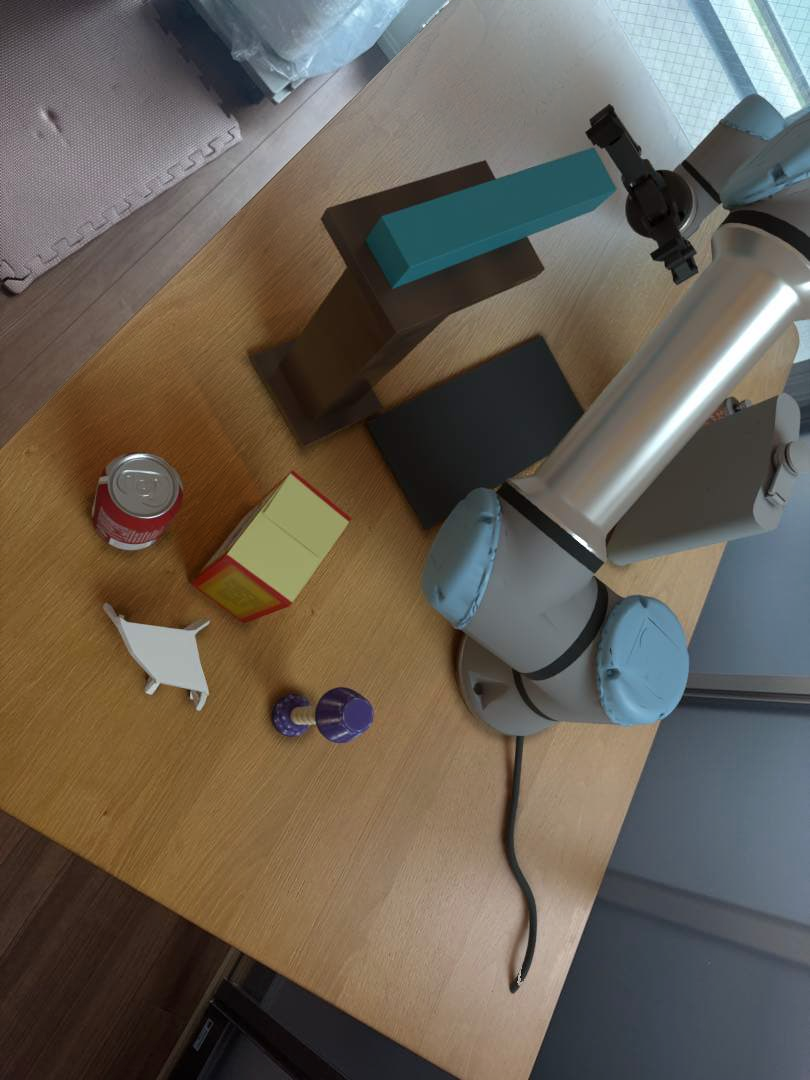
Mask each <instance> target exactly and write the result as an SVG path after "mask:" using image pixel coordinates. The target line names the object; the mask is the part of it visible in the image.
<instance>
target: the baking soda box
mask: <svg viewBox="0 0 810 1080" xmlns="http://www.w3.org/2000/svg"><path fill="white" fill-rule="evenodd" d="M352 519H353V518H352V517H351V516H350V515H348V514H347V513H346V512H345V511H344V510H342V508H340V507H339V506H337V505H336V504H335V503H334V502H332V500H330V499H329V498H328V497H327V496H325V495H324V494H323V493H322V492H320V491H319V490H318V489H317V488H315V487H314V486H313V485H312V484H311V483H309V482H308V481H307V480H306V479H304V478H303V477H302V476H301V475H299V474H298V473H297V472H296V471H295V470H293V469H292V470H290V472H288V473H287V474H286V475H285V476H284V477H282V479H281V480H280V481H279V482H278V483H276V485H274V487H272V488H271V489H270V490H269V491H268V492H267V493H266V494H265V495H264V496H263V497H261V498H260V499H259V500H258V501H257V502H256V503H254V504H253V506H251V508H250V509H248V510H247V512H245V514H244V515H243V516H242V518H241V519H240V520H239V521H238V523H237V524H236V525H235V527H234V528H233V529H232V530H231V532H229V534H228V535H227V537H226V538H225V539H224V540H223V542H222V543H221V544H220V545H219V547H218V548H217V549H216V551H215V552H214V553H213V554H212V556H211V557H210V558H209V559H208V560H207V562H206V563H205V565H203V567H202V568H201V569H200V571H199V572H198V573H197V575H196V576H195V577H194V578H193V580H192V581H191V582H190V585H191V586H192V587H193V588H194V589H196V590H198V591H199V592H200V593H202V594H203V595H204V596H205V597H207V598H208V599H209V600H211V601H212V602H214V603H215V604H216V605H218V607H220V608H221V609H223V610H224V611H226V612H227V613H228V614H230V615H231V616H232V617H234V618H235V619H236V620H238V621H239V622H240V623H242V624H243V625H245V624H247V623H249V622H251V621H252V622H253V621H255V620H257V619H259V618H263V617H265V616H267V615H271V614H273V613H276V612H278V611H281V610H284V609H287V608H289V607H291V605H292V604H293V603H294V601H295V600H296V598H297V597H298V595H299V594H300V593H301V591H302V590H303V588H304V587H305V586H306V584H307V583H308V582H309V580H310V578H311V577H312V576H313V575H314V573H315V571H316V570H317V569H318V567H319V565H321V563H322V562H323V560H324V559H325V557H326V556H327V554H328V553H329V551H330V550H331V549H332V547H333V546H334V545H335V543H336V542H337V541H338V539H339V538H340V537H341V535H342V534H343V532H344V530H345V529H346V528H347V526H348V525H349V523H350V522H351V521H352Z"/></svg>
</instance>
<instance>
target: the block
mask: <svg viewBox="0 0 810 1080" xmlns="http://www.w3.org/2000/svg"><path fill="white" fill-rule="evenodd" d="M617 190H618V188H617V187H616V185H615V183H614V181H613V178H612V177H611V175H610V174H609V172H608V170H607V168H606V166H605V163H603V161H602V159H601V157H600V155H599V153H598V151H597V149H596V147H595V146H593V147H590V148H587V149H584V150H581V151H577V152H575V153H572V154H569V155H566V156H563V157H558V158H556V159H553V160H550V161H547V162H543V163H541V164H538V165H534V166H531V167H529V168H526V169H521V170H519V171H516V172H513V173H509V174H507V175H504V176H500V177H498V178H496V179H494V180H491V181H488V182H485V183H482V184H479V185H476V186H473V187H470V188H466V189H463V190H460V191H457V192H454V193H451V194H448V195H445V196H442V197H439V198H436V199H433V200H429V201H426V202H423V203H420V204H417V205H414V206H411V207H408V208H405V209H402V210H399V211H396V212H392V213H389V214H386V215H383V216H381V217H380V219H379V220H378V222H377V223H376V225H375V226H374V228H373V229H372V230H371V232H370V233H369V235H368V236H367V238H366V239H365V241H366V243H367V245H368V247H369V248H370V250H371V252H372V254H373V256H374V257H375V259H376V261H377V263H378V265H379V266H380V268H381V270H382V272H383V274H384V275H385V277H386V279H387V281H388V283H389V284H390V286H391V288H392V289H393V288H396V287H399V286H401V285H404V284H406V283H409V282H411V281H414V280H417V279H419V278H422V277H424V276H427V275H429V274H432V273H435V272H437V271H440V270H442V269H445V268H447V267H450V266H453V265H455V264H458V263H460V262H463V261H465V260H468V259H471V258H473V257H476V256H478V255H481V254H483V253H486V252H489V251H491V250H494V249H496V248H499V247H501V246H504V245H507V244H509V243H512V242H514V241H517V240H519V239H522V238H524V237H530V236H532V235H535V234H537V233H540V232H542V231H545V230H548V229H551V228H553V227H555V226H558V225H560V224H563V223H565V222H568V221H571V220H573V219H576V218H578V217H581V216H583V215H586V214H588V213H592V212H594V211H595V210H596V209H597V208H599V206H601V205H602V204H603V203H604V202H605V201H606V200H607V199H609V198H610V197H611V196H613V194H614V193H615V192H617Z"/></svg>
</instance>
